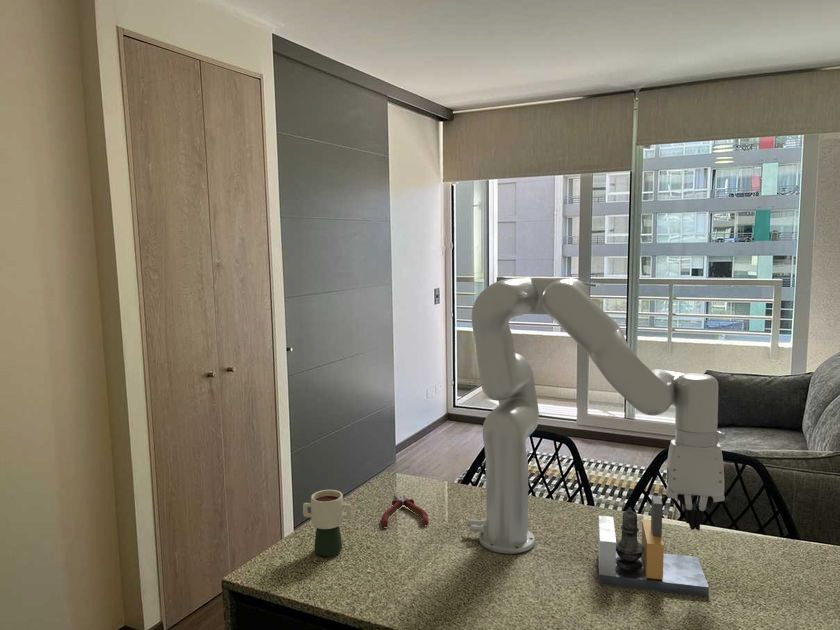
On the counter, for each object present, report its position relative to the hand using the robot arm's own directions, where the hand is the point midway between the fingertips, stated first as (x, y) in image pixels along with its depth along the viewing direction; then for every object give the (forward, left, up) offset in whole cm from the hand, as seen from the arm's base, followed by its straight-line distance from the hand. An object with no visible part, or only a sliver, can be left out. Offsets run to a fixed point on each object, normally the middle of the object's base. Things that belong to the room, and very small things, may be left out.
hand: (694, 526), depth 122 cm
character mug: (-76, -6, -11) cm, 77 cm away
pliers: (-64, +18, -12) cm, 68 cm away
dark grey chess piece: (-12, 0, -9) cm, 15 cm away
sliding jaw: (-8, 0, -9) cm, 12 cm away
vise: (-8, 0, -11) cm, 14 cm away
